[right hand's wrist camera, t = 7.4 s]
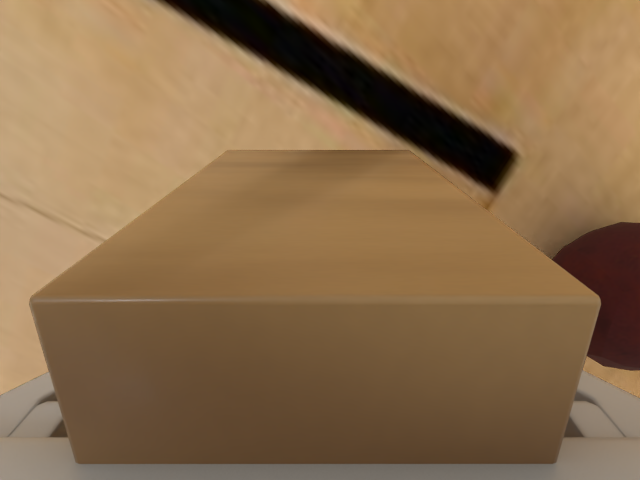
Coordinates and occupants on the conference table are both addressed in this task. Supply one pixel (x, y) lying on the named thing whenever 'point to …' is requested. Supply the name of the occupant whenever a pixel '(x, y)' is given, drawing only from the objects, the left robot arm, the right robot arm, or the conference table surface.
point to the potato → (610, 290)
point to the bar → (315, 323)
